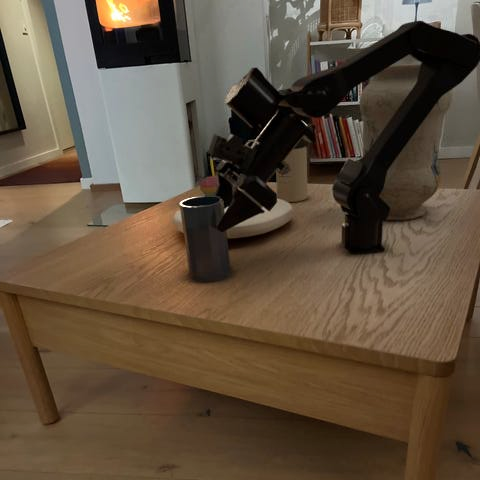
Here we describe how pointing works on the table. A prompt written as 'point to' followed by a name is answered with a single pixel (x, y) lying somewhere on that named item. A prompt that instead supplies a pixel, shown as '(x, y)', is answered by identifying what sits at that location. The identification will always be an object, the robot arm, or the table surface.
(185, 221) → the cup
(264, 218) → the plate
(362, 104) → the vase
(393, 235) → the table surface
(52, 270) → the table surface
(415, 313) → the table surface
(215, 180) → the cupcake
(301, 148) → the travel mug
